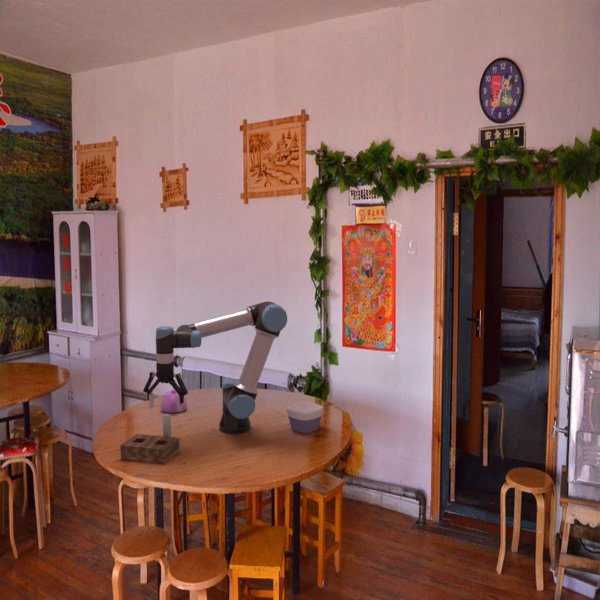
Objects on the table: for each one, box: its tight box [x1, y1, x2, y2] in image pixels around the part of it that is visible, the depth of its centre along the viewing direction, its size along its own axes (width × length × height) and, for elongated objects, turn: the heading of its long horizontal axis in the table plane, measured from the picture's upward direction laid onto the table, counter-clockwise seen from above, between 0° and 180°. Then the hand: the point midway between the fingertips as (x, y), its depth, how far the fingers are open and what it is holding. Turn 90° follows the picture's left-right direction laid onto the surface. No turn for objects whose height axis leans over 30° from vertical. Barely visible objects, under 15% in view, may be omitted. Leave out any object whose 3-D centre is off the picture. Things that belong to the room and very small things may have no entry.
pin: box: [162, 413, 172, 437], centre depth 264 cm, size 3×3×14 cm
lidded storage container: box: [286, 401, 324, 434], centre depth 286 cm, size 15×15×11 cm
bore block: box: [119, 433, 180, 465], centre depth 253 cm, size 20×14×6 cm
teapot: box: [160, 388, 188, 414], centre depth 315 cm, size 13×20×11 cm
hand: (165, 409), depth 263 cm, fingers open, 13 cm apart
